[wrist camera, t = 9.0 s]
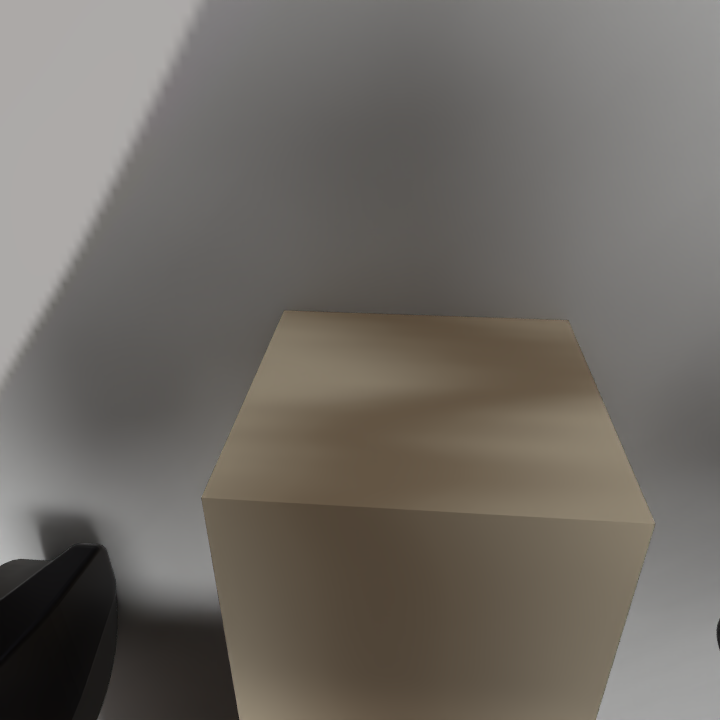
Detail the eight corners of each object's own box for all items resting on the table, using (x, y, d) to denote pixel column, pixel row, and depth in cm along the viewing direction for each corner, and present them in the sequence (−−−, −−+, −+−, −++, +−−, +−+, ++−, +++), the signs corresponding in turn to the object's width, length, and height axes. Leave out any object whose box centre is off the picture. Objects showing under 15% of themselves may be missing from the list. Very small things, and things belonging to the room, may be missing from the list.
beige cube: (567, 318, 11) (656, 523, 7) (530, 528, 14) (579, 775, 9) (284, 308, 12) (200, 498, 7) (299, 514, 14) (243, 745, 10)
